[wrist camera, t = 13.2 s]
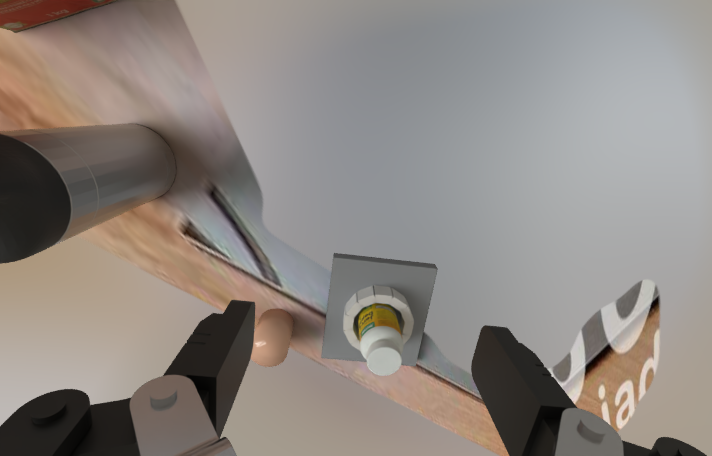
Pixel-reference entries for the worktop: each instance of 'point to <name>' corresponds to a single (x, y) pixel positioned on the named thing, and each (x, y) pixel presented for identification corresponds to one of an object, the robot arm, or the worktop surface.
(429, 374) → the worktop surface
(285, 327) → the peach pill-shaped knob
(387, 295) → the collar board
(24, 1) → the food packaging
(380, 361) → the supplement bottle
